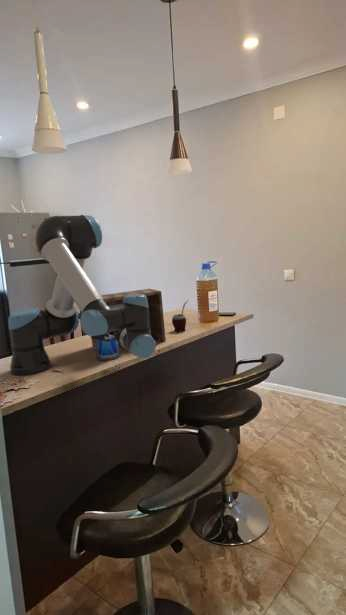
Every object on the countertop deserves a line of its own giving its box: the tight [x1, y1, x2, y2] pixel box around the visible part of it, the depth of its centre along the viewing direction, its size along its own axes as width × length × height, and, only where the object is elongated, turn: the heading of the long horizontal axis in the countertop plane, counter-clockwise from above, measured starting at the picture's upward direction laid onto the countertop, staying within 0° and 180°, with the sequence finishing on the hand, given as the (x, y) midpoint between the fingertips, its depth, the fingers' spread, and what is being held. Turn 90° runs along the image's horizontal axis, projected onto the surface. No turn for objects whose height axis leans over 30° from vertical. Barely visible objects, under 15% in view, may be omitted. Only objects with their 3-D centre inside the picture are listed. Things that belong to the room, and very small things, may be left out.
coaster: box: [95, 352, 122, 362], centre depth 170 cm, size 10×10×1 cm
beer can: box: [96, 339, 119, 358], centre depth 168 cm, size 8×8×16 cm
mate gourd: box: [171, 299, 189, 333], centre depth 207 cm, size 8×8×15 cm
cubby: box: [91, 288, 167, 352], centre depth 187 cm, size 30×15×23 cm, turn 114°
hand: (112, 326), depth 158 cm, fingers open, 13 cm apart
